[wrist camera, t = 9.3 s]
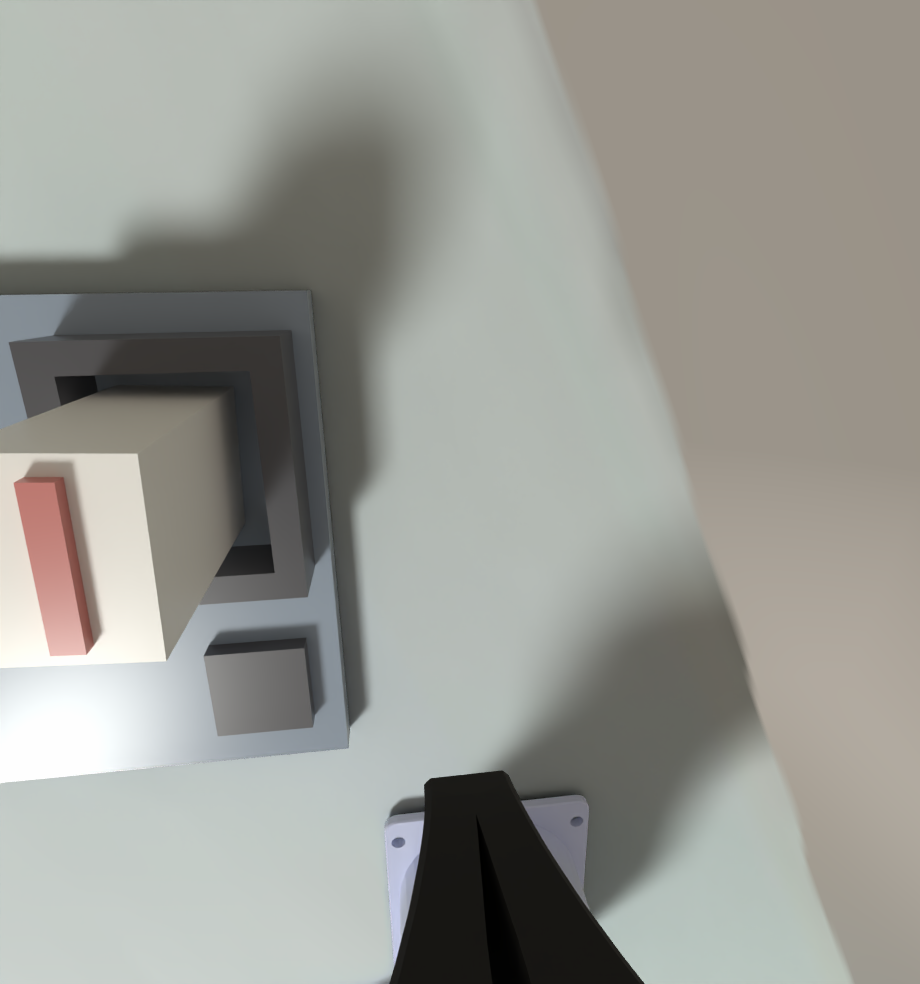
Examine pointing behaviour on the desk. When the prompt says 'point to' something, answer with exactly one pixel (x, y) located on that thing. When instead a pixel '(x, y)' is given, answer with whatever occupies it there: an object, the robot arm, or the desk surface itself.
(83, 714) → the board
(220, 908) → the desk surface
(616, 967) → the robot arm
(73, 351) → the frame
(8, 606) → the plug
